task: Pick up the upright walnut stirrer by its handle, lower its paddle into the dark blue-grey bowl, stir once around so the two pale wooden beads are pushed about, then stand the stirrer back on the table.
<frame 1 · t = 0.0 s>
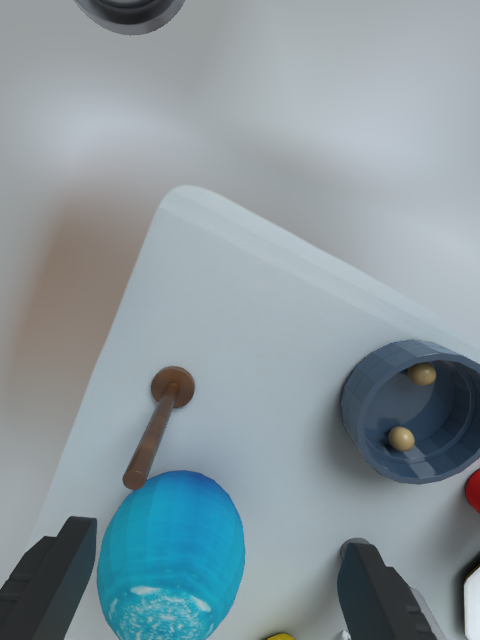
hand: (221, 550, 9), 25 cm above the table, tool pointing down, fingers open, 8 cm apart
bowl: (401, 398, 36), on the table
stirrer: (173, 385, 35), on the table
decorative orb: (185, 491, 38), on the table
duckling: (278, 636, 45), on the table
bead b: (401, 438, 35), point 2 cm above the table, touching bowl
cup: (396, 605, 44), on the table
bead a: (421, 373, 33), point 2 cm above the table, touching bowl
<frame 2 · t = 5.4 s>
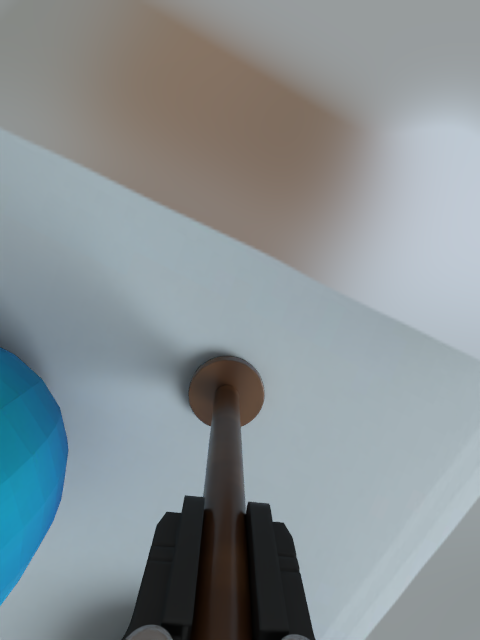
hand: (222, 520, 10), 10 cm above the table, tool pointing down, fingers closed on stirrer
stirrer: (226, 390, 20), on the table, touching gripper
decorative orb: (2, 402, 20), on the table
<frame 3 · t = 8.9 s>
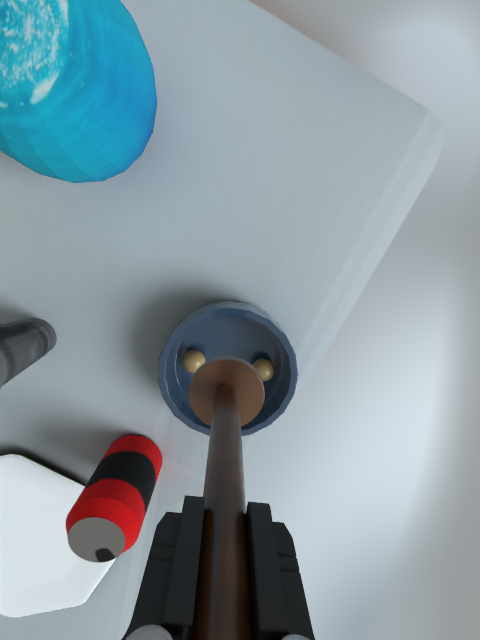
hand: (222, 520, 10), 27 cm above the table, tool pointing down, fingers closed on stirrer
soda can: (136, 456, 41), on the table
bowl: (228, 359, 38), on the table
stirrer: (226, 390, 20), point 17 cm above the table, touching gripper
plate: (21, 531, 43), on the table
decorative orb: (102, 122, 31), on the table
beverage cup: (39, 335, 36), on the table
bead b: (193, 361, 35), point 2 cm above the table, touching bowl
bead a: (263, 369, 36), point 2 cm above the table, touching bowl
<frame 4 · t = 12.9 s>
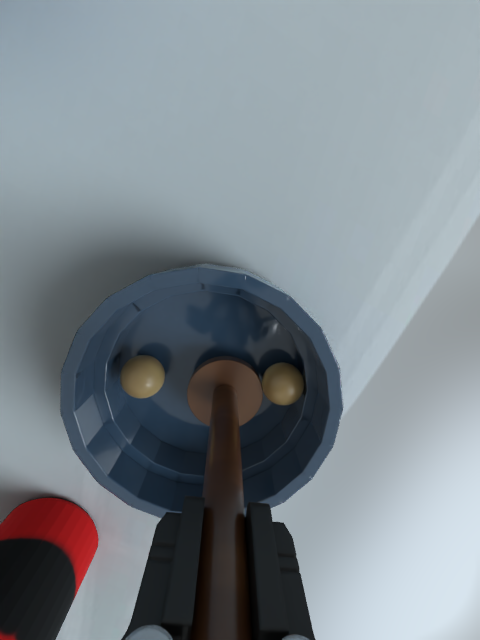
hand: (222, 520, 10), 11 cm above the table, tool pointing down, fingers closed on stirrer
soda can: (56, 529, 24), on the table
bowl: (210, 372, 21), on the table
stirrer: (225, 390, 20), point 2 cm above the table, touching bead a, gripper
bead b: (142, 376, 19), point 2 cm above the table, touching bowl
bead a: (282, 383, 19), point 2 cm above the table, tilted 29°, touching bowl, stirrer
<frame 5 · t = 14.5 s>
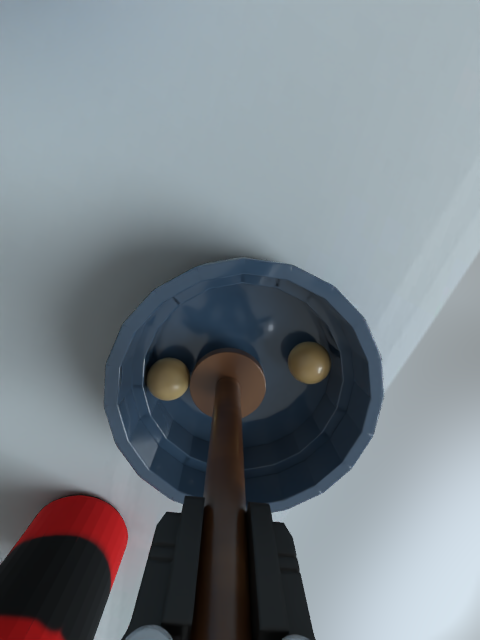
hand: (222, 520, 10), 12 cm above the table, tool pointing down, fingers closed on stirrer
soda can: (84, 527, 24), on the table
bowl: (242, 366, 21), on the table
stirrer: (228, 381, 20), point 2 cm above the table, touching gripper
bead b: (168, 378, 19), point 2 cm above the table, tilted 26°, touching bowl
bead a: (309, 362, 19), point 2 cm above the table, tilted 25°, touching bowl
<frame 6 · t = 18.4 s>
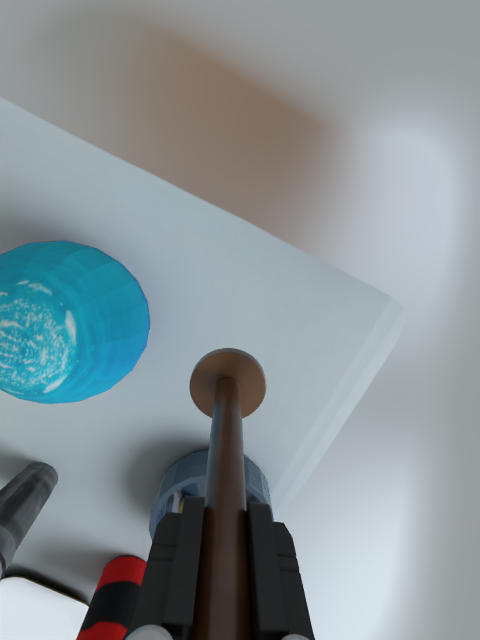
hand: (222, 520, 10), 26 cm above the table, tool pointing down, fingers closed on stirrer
soda can: (129, 572, 44), on the table
bowl: (214, 494, 41), on the table
stirrer: (228, 382, 20), point 17 cm above the table, touching gripper
plate: (21, 636, 47), on the table
decorative orb: (102, 307, 35), on the table
beverage cup: (42, 475, 40), on the table
bead b: (188, 507, 39), point 2 cm above the table, tilted 42°, touching bowl
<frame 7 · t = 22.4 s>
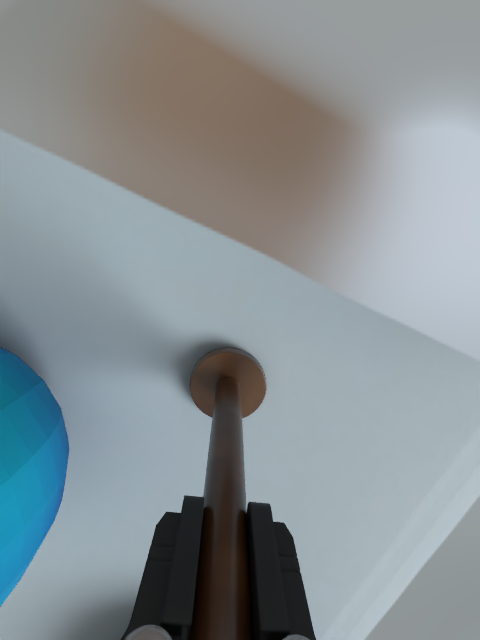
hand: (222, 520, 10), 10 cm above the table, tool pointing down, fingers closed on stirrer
stirrer: (228, 382, 20), on the table, touching gripper
decorative orb: (3, 402, 20), on the table
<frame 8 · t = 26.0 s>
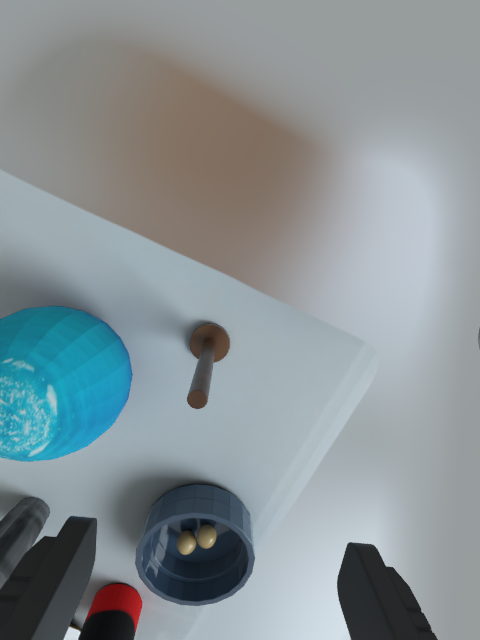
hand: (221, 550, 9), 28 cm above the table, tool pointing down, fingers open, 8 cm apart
soda can: (119, 598, 46), on the table
bowl: (199, 525, 43), on the table
stirrer: (210, 342, 37), on the table
decorative orb: (89, 353, 37), on the table
beverage cup: (34, 509, 42), on the table
bead b: (186, 542, 41), point 2 cm above the table, tilted 117°, touching bowl
bead a: (206, 536, 41), point 2 cm above the table, tilted 121°, touching bowl
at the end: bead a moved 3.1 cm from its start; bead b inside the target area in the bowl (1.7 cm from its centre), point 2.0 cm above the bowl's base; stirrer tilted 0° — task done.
